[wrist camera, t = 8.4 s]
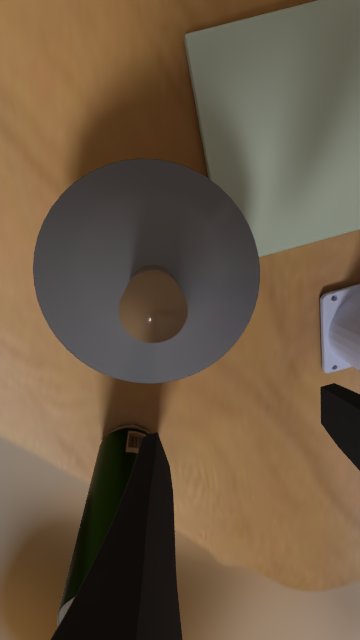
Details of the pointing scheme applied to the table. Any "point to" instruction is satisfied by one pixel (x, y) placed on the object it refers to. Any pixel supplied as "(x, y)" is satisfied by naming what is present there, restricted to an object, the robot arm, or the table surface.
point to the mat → (283, 119)
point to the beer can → (101, 503)
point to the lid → (146, 271)
